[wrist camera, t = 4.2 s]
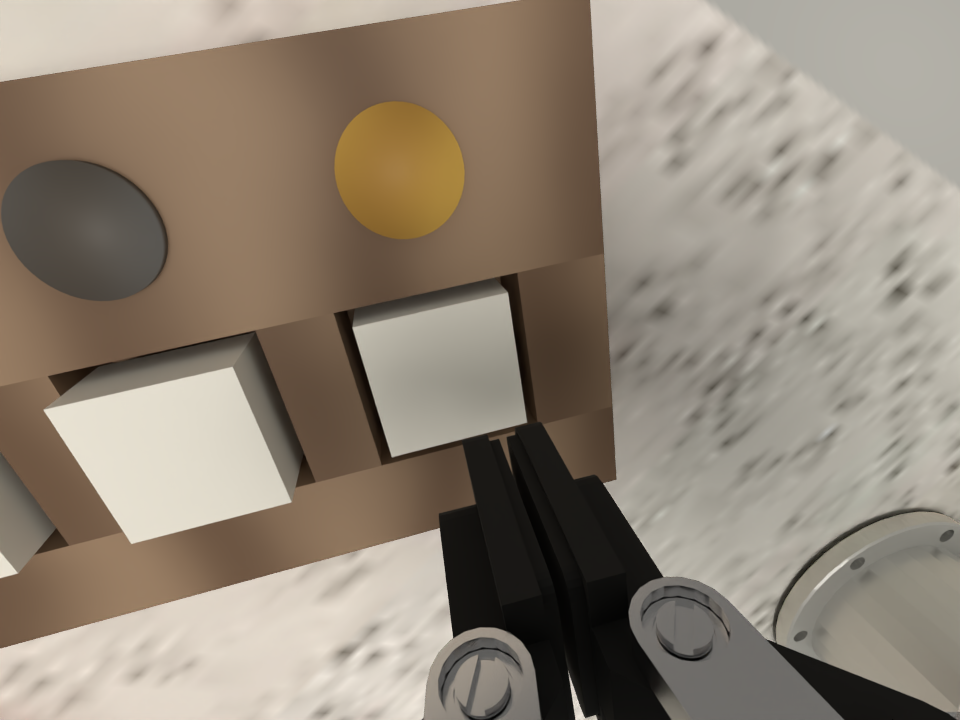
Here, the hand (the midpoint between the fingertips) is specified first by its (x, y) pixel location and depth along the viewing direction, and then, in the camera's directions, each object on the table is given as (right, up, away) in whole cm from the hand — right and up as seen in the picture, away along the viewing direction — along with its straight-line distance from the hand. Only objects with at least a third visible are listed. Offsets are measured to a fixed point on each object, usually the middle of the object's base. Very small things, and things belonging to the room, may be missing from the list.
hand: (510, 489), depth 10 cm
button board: (-9, +3, +6) cm, 11 cm away
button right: (-2, +3, +6) cm, 7 cm away
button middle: (-9, +1, +4) cm, 10 cm away
